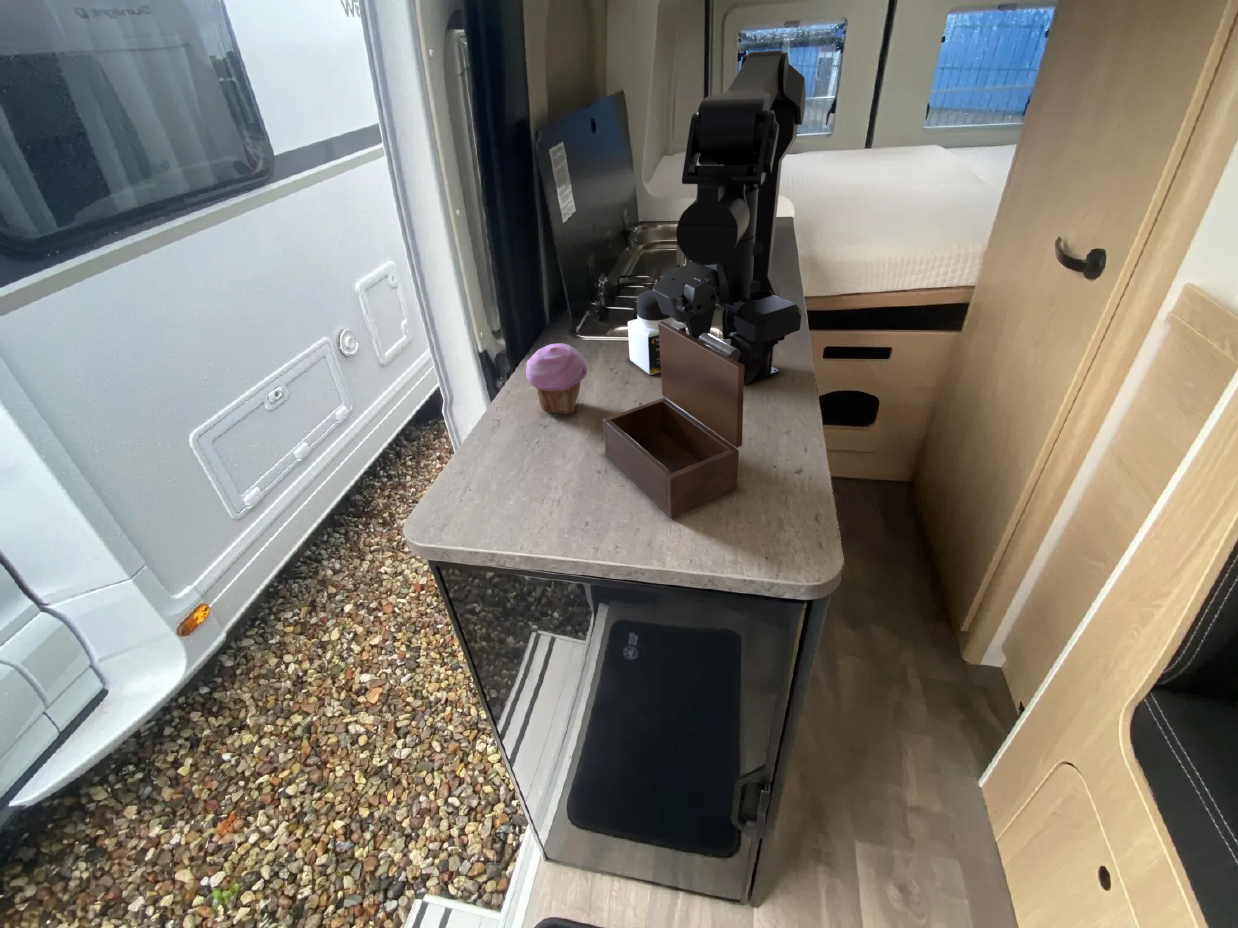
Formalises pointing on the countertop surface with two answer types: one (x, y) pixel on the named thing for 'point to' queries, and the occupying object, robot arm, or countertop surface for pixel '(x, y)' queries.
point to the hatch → (703, 380)
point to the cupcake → (557, 377)
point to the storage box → (671, 456)
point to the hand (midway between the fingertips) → (722, 367)
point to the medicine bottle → (648, 333)
